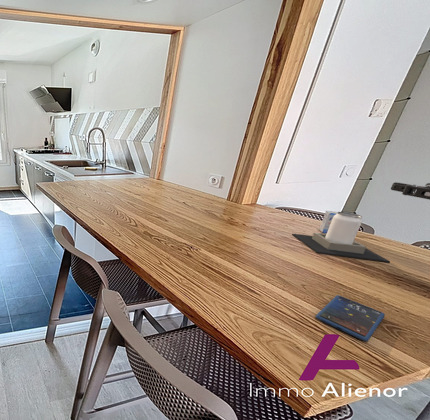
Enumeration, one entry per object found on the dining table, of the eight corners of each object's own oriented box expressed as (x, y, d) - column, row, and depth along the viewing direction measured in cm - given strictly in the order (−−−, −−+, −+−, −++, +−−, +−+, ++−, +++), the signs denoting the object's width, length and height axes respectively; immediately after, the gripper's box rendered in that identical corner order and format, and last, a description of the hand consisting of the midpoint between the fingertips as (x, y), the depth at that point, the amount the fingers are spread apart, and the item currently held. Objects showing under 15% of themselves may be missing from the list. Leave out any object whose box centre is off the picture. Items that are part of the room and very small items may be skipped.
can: (351, 252, 82) (366, 219, 78) (323, 246, 86) (336, 214, 83) (348, 245, 87) (361, 214, 83) (322, 240, 91) (334, 210, 87)
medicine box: (321, 232, 99) (329, 212, 96) (318, 229, 103) (326, 209, 100) (350, 237, 95) (359, 216, 92) (345, 233, 98) (354, 213, 95)
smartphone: (315, 315, 54) (337, 294, 61) (313, 318, 54) (336, 296, 61) (368, 340, 47) (386, 313, 54) (366, 343, 48) (384, 316, 55)
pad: (351, 241, 91) (355, 234, 90) (389, 263, 77) (394, 254, 76) (291, 234, 97) (294, 227, 96) (316, 253, 83) (320, 244, 82)
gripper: (554, 187, 51) (443, 173, 67) (480, 185, 52) (388, 172, 68) (532, 220, 54) (430, 199, 69) (461, 218, 55) (376, 198, 70)
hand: (409, 186), depth 68 cm, fingers open, 8 cm apart
